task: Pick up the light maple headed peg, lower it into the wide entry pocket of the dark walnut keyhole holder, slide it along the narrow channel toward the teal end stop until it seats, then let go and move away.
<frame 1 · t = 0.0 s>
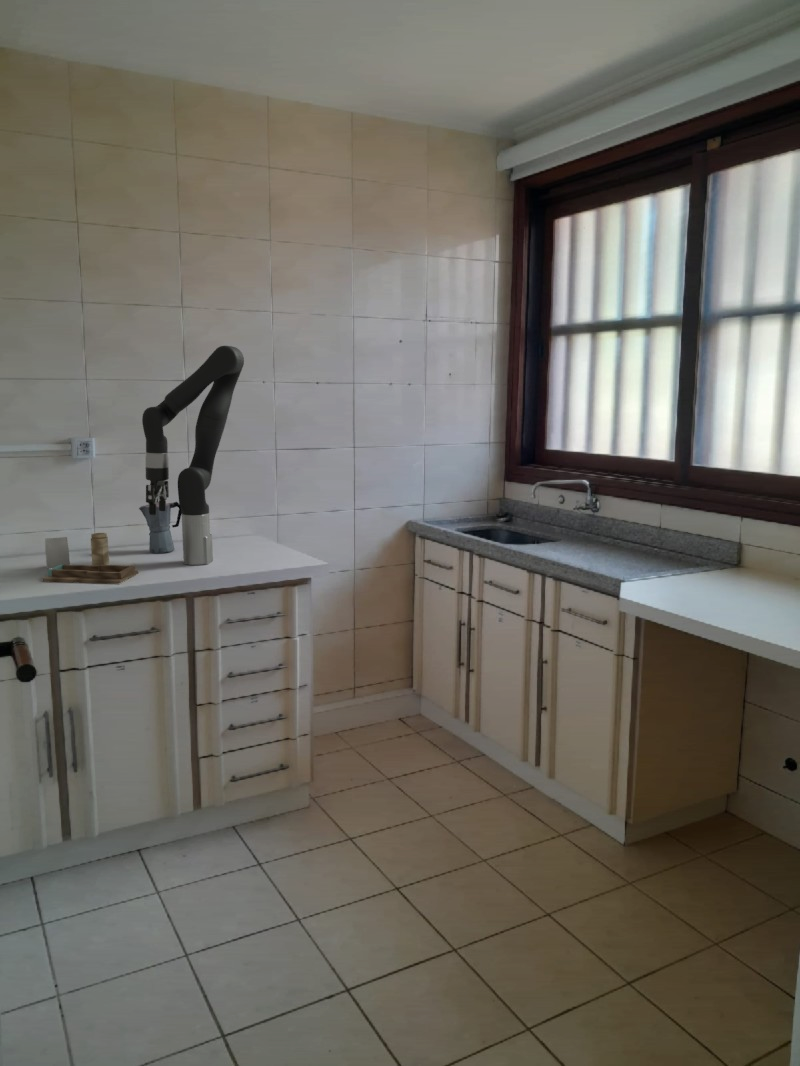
hand: (157, 512, 276), 17 cm above the counter, tool pointing down, fingers open, 8 cm apart
moka pot: (162, 551, 296), on the counter
maple peg: (101, 566, 271), on the counter
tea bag: (58, 567, 270), on the counter
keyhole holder: (91, 577, 256), on the counter
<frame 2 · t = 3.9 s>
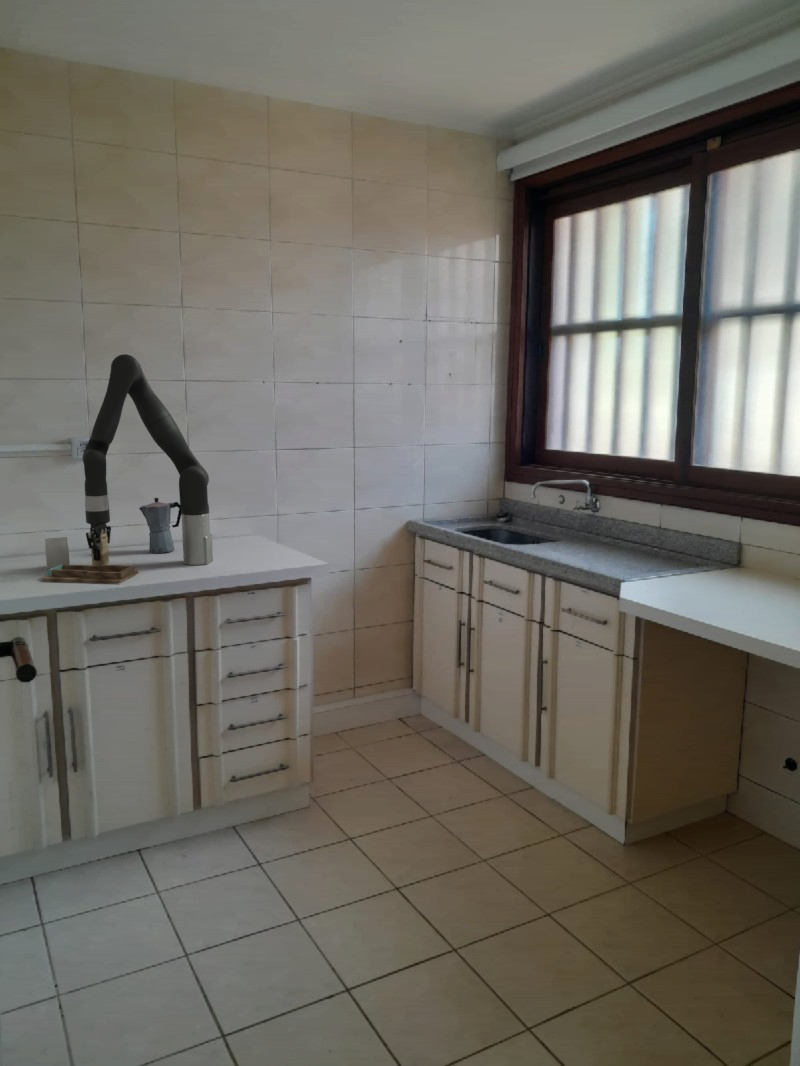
hand: (100, 558, 270), 3 cm above the counter, tool pointing down, fingers closed on maple peg, 4 cm apart
maple peg: (100, 566, 271), on the counter, touching gripper
everything else where it was.
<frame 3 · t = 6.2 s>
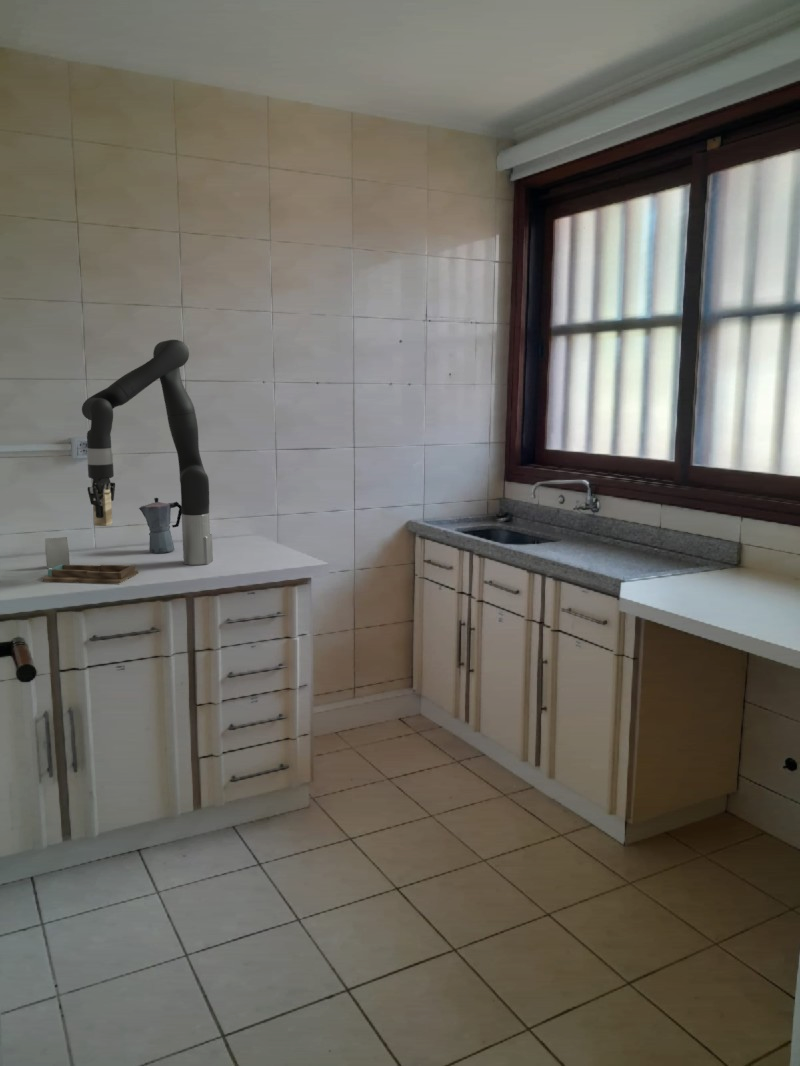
hand: (103, 516, 255), 19 cm above the counter, tool pointing down, fingers closed on maple peg, 4 cm apart
maple peg: (103, 524, 255), point 17 cm above the counter, touching gripper
everything else where it was.
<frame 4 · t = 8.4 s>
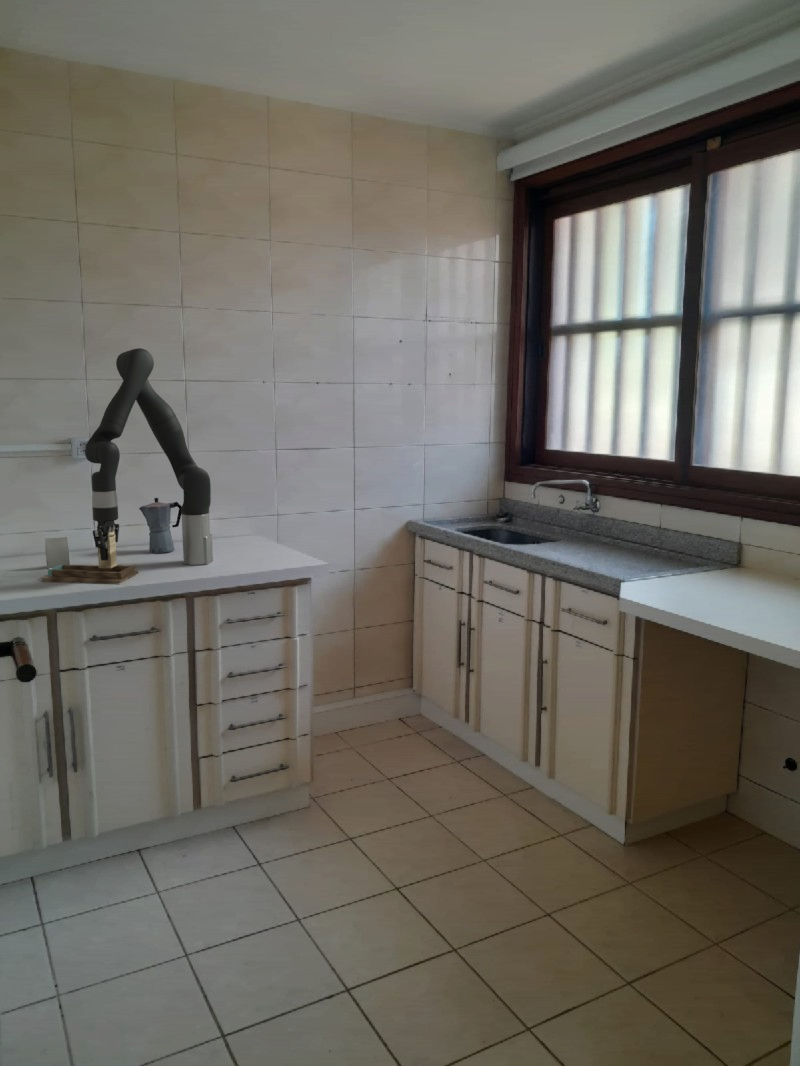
hand: (107, 558, 254), 6 cm above the counter, tool pointing down, fingers closed on maple peg, 4 cm apart
maple peg: (107, 566, 254), point 4 cm above the counter, touching gripper
everything else where it was.
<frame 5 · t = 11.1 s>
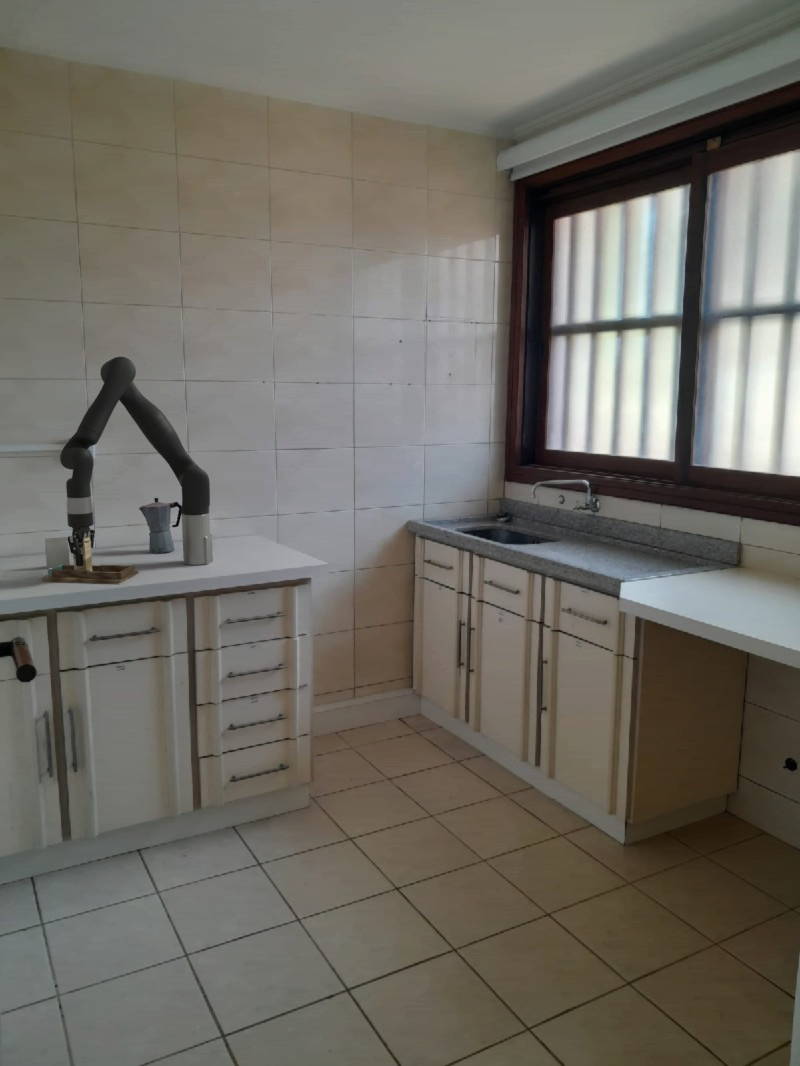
hand: (83, 564, 255), 4 cm above the counter, tool pointing down, fingers closed on maple peg, 4 cm apart
maple peg: (83, 572, 255), point 2 cm above the counter, touching gripper
everything else where it was.
when the fingers open (4 cm above the counter, at t = 13.3 s): maple peg stays where it is, resting on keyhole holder.
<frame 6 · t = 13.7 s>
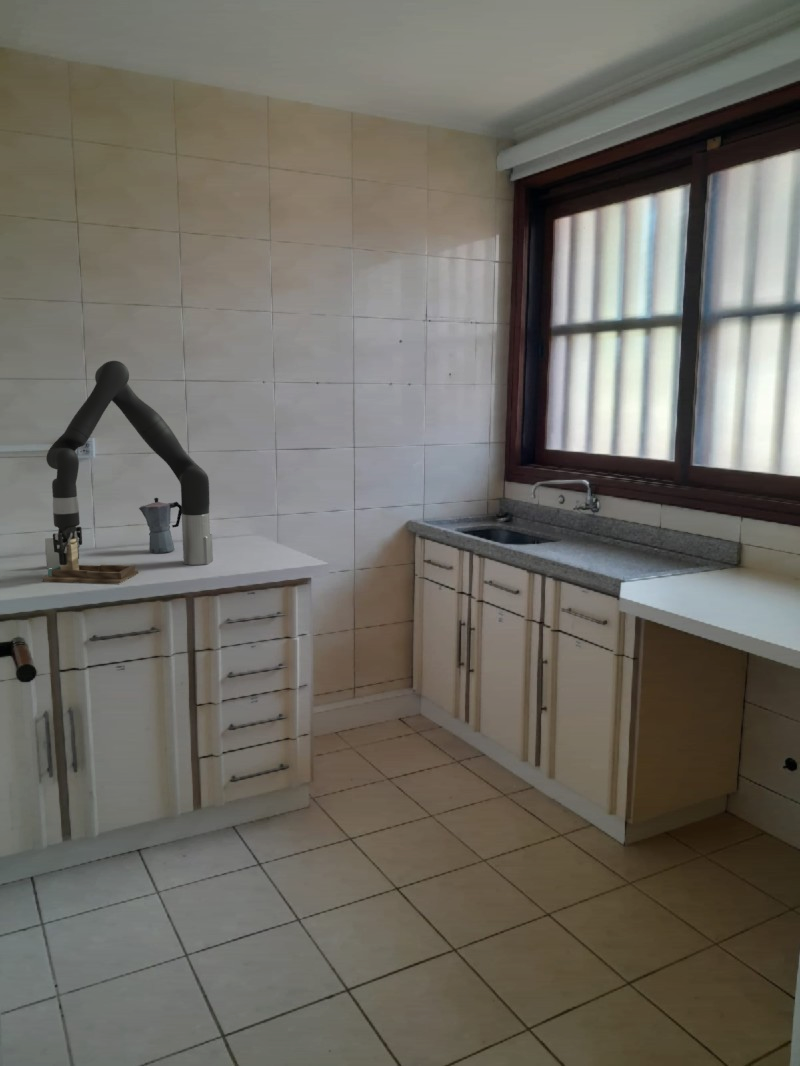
hand: (69, 562, 255), 5 cm above the counter, tool pointing down, fingers open, 7 cm apart
maple peg: (70, 573, 256), point 1 cm above the counter, touching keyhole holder
everything else where it was.
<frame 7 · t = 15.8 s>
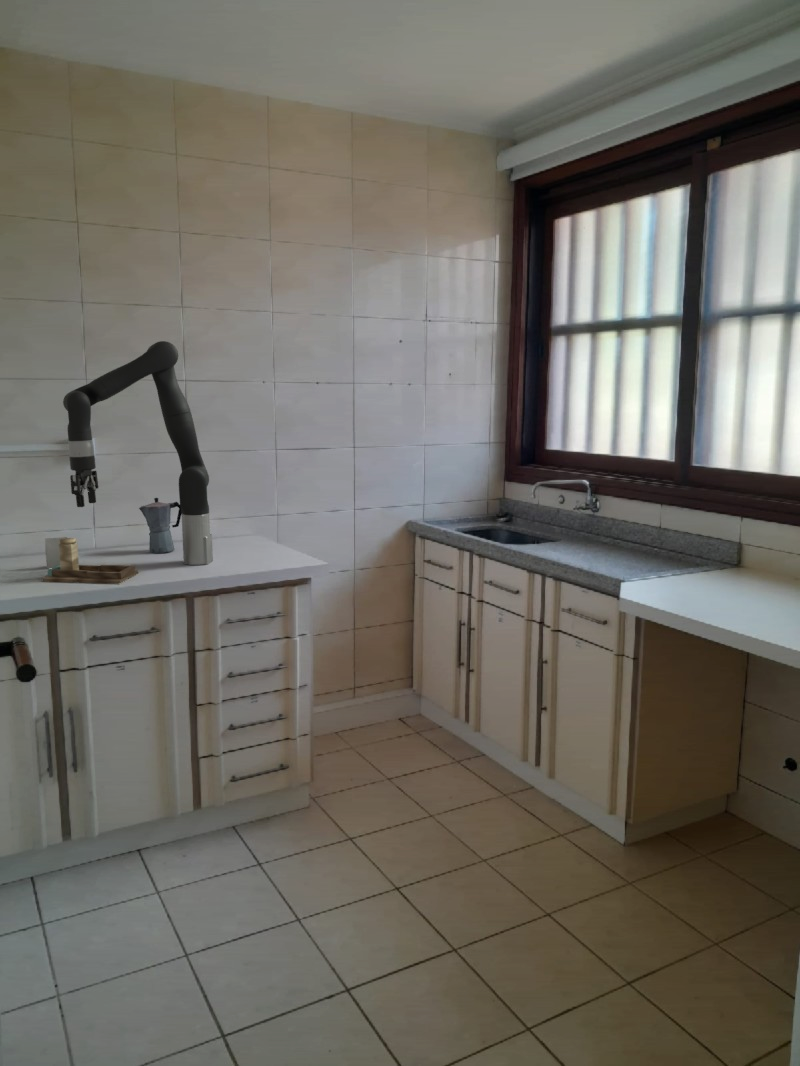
hand: (86, 504, 259), 22 cm above the counter, tool pointing down, fingers open, 8 cm apart
nothing on the counter moved.
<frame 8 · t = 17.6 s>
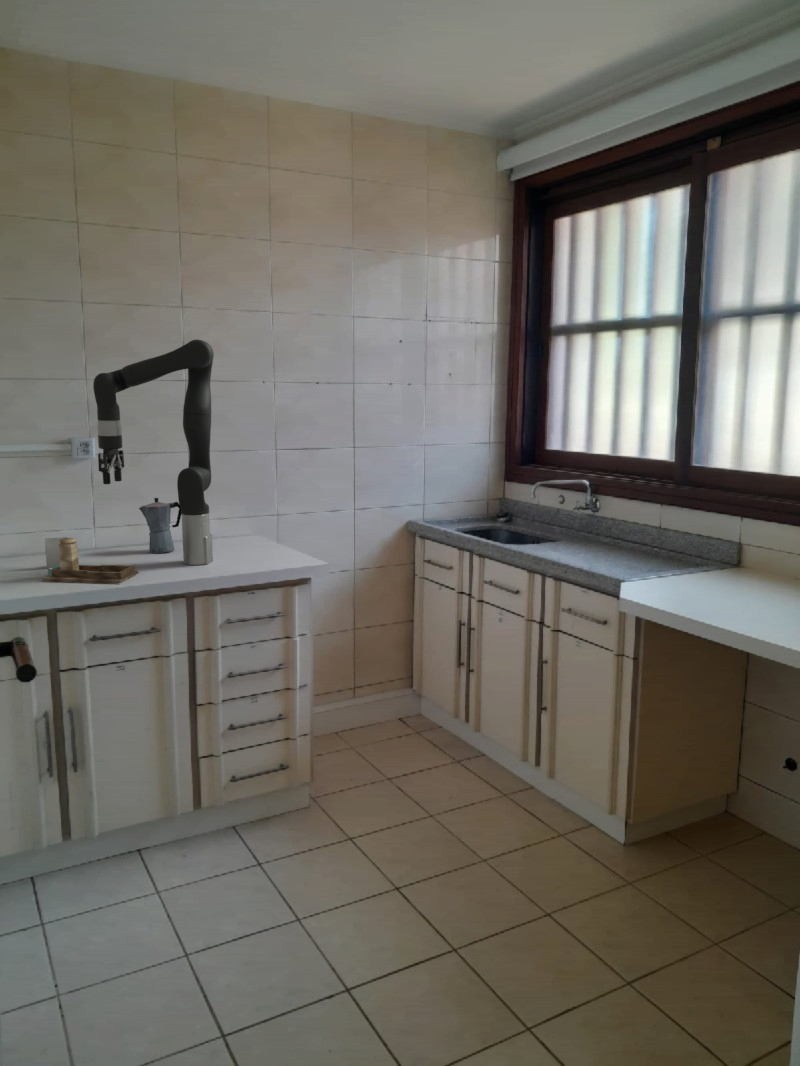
hand: (112, 482, 269), 28 cm above the counter, tool pointing down, fingers open, 8 cm apart
nothing on the counter moved.
at the end: maple peg 0.1 cm from the target spot on the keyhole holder, point 1.0 cm above the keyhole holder's base; maple peg tilted 0°; the gripper is holding nothing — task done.
